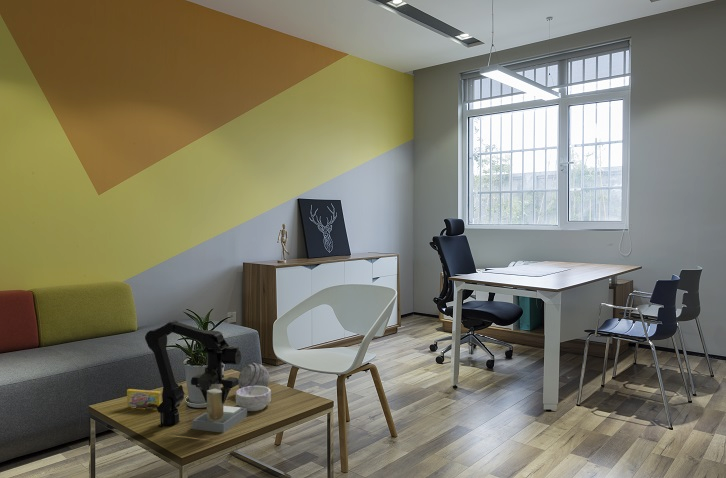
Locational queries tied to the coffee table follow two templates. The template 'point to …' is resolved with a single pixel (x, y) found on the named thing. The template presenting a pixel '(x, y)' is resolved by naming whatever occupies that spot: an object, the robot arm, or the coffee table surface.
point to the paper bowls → (253, 397)
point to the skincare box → (214, 406)
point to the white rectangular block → (230, 412)
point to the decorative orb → (253, 376)
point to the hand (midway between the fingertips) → (215, 402)
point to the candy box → (143, 399)
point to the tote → (205, 425)
